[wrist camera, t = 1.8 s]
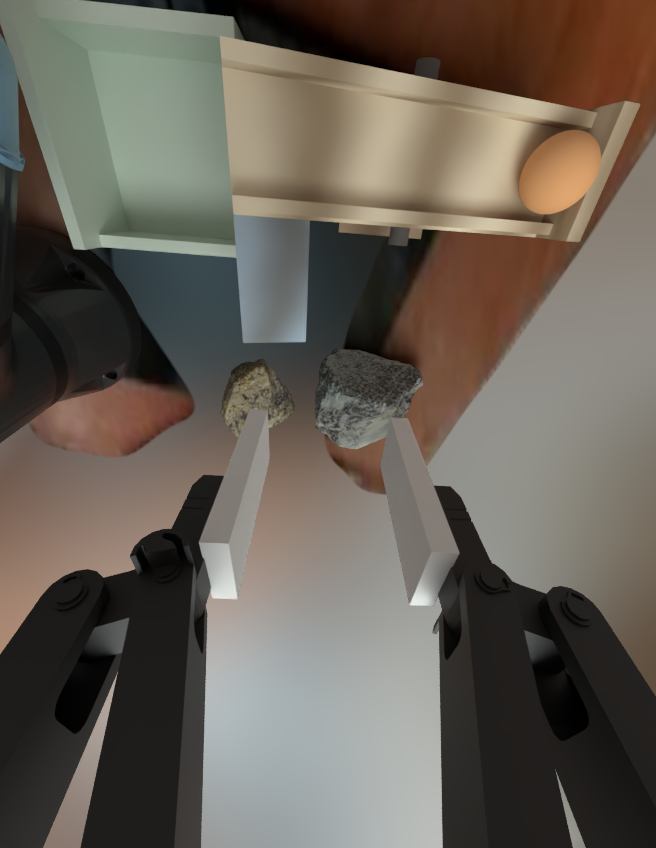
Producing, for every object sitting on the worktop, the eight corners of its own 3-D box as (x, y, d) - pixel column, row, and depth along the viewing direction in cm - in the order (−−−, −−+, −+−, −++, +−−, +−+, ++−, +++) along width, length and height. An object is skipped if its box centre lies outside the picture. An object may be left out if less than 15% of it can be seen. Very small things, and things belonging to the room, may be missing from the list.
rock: (207, 377, 36) (193, 396, 32) (269, 351, 34) (262, 368, 30) (240, 426, 39) (231, 448, 36) (298, 404, 38) (295, 426, 34)
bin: (126, 240, 28) (73, 248, 22) (76, 34, 21) (-18, -30, 16) (259, 251, 29) (242, 262, 23) (250, 53, 22) (223, -3, 16)
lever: (242, 332, 22) (244, 358, 18) (218, 22, 14) (214, -37, 11) (491, 330, 27) (531, 350, 23) (574, 98, 19) (653, 75, 15)
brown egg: (496, 210, 19) (540, 212, 17) (520, 131, 17) (574, 117, 15) (545, 215, 20) (595, 218, 17) (573, 140, 18) (635, 129, 15)
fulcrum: (338, 231, 28) (342, 239, 21) (348, 103, 23) (357, 60, 17) (492, 244, 28) (544, 255, 22) (530, 121, 24) (611, 87, 17)
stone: (399, 382, 25) (329, 467, 29) (445, 391, 32) (384, 457, 37) (329, 314, 29) (278, 398, 34) (385, 336, 37) (337, 401, 41)
